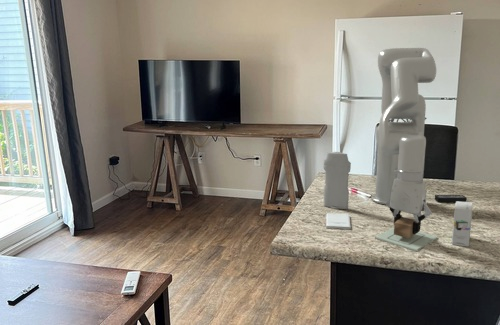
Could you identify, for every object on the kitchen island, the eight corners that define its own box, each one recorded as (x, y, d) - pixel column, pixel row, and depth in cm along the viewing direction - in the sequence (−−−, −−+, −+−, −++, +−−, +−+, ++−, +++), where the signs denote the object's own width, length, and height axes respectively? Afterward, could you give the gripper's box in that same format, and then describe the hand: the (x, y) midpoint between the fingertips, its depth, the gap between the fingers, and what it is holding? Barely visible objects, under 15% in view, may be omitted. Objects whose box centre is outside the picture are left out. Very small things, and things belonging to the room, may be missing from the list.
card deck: (393, 234, 141) (394, 221, 140) (403, 226, 147) (403, 214, 146) (409, 238, 138) (410, 225, 137) (418, 230, 144) (419, 217, 143)
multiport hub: (434, 200, 181) (434, 194, 180) (462, 200, 180) (462, 194, 179) (438, 203, 176) (438, 198, 176) (466, 203, 176) (467, 197, 175)
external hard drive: (349, 218, 163) (350, 231, 151) (326, 217, 165) (326, 229, 153) (349, 214, 163) (350, 226, 151) (326, 213, 164) (326, 225, 152)
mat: (397, 226, 153) (397, 225, 153) (437, 238, 143) (437, 236, 143) (374, 238, 144) (375, 236, 143) (416, 251, 134) (416, 249, 133)
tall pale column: (320, 206, 174) (321, 151, 169) (324, 203, 178) (325, 149, 172) (347, 210, 169) (349, 154, 164) (350, 207, 173) (352, 151, 167)
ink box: (452, 234, 145) (455, 200, 143) (469, 237, 143) (472, 202, 140) (451, 244, 138) (454, 208, 135) (469, 247, 136) (472, 210, 133)
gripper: (379, 173, 142) (376, 226, 146) (431, 183, 130) (427, 241, 134) (391, 168, 147) (388, 220, 151) (443, 178, 135) (438, 234, 139)
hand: (406, 229), depth 143 cm, fingers closed on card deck, 5 cm apart
